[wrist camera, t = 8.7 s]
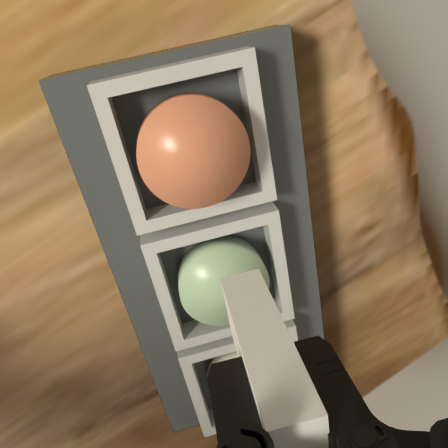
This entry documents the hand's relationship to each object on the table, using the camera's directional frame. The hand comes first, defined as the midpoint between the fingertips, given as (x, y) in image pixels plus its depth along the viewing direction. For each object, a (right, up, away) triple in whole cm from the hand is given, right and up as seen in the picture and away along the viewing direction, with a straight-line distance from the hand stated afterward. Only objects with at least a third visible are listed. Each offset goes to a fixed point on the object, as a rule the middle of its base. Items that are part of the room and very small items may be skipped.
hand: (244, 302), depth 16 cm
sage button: (-1, -1, +13) cm, 13 cm away
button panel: (-2, +1, +16) cm, 16 cm away
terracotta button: (-3, +7, +7) cm, 11 cm away
